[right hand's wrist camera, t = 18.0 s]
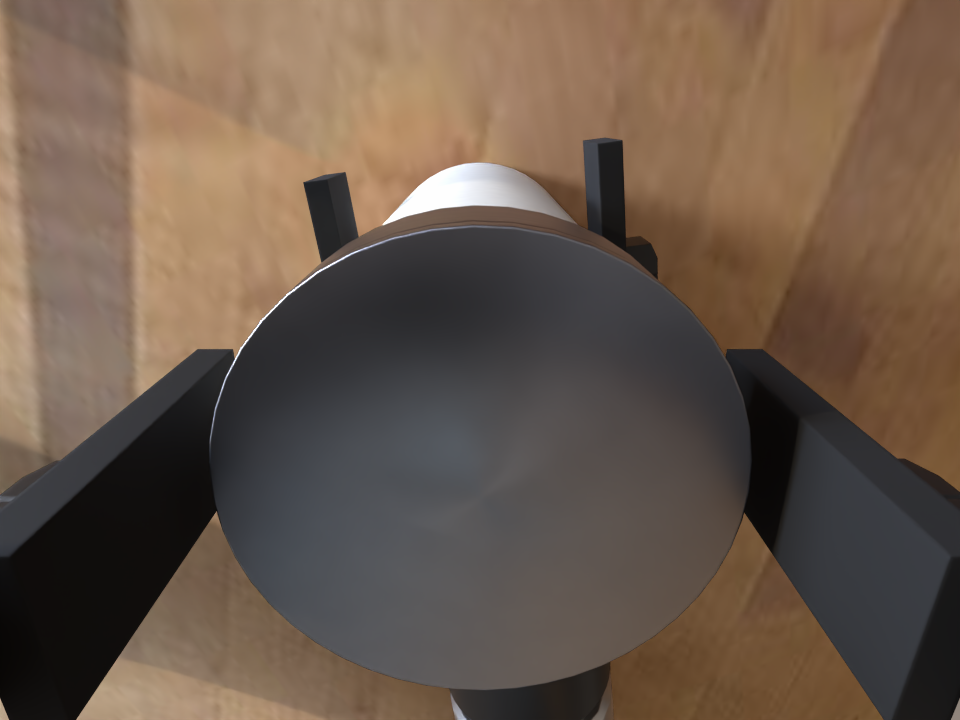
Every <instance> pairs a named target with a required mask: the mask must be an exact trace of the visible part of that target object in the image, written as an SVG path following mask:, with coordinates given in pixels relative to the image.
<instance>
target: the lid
mask: <svg viewBox="0 0 960 720" xmlns="http://www.w3.org/2000/svg"><path fill="white" fill-rule="evenodd" d="M751 466H752V451H751V436H750V426H749V422H748V417H747V413H746V408H745V404H744V399H743V396H742V393H741V391H740V388H739V386H738V383H737V381H736V378H735V376H734V373H733V371H732V368H731V366H730V364H729V363H728V361H727V359H726V358H725V356H724V354H723V352H722V351H721V349H720V347H719V346H718V344H717V342H716V341H715V339H714V337H713V336H712V335H711V334H710V332H709V331H708V330H707V329H706V327H705V326H704V325H703V324H702V323H701V321H700V320H699V319H698V318H697V317H696V315H695V314H694V313H693V312H692V310H691V309H690V308H689V307H687V306H686V305H685V304H684V303H683V302H682V301H681V300H680V299H679V298H677V297H676V296H675V295H674V294H673V293H672V292H671V291H670V290H669V289H667V288H666V287H665V286H664V285H663V284H662V283H661V282H660V281H659V280H657V279H656V278H655V277H654V276H653V275H652V274H651V273H650V272H649V271H647V270H646V269H645V268H644V267H643V266H642V265H641V264H640V263H639V262H637V261H636V260H635V259H634V258H633V257H632V256H631V255H629V254H628V253H626V252H625V251H623V250H622V249H620V248H619V247H617V246H616V245H614V244H613V243H611V242H610V241H608V240H607V239H605V238H604V237H602V236H600V235H598V234H596V233H594V232H592V231H590V230H587V229H585V228H583V227H581V226H579V225H577V224H575V223H572V222H569V221H566V220H563V219H560V218H557V217H554V216H551V215H548V214H544V213H541V212H535V211H530V210H524V209H518V208H513V207H504V206H480V205H471V206H461V207H450V208H440V209H435V210H431V211H427V212H422V213H418V214H414V215H409V216H406V217H403V218H400V219H398V220H395V221H393V222H390V223H387V224H385V225H382V226H379V227H377V228H375V229H373V230H371V231H369V232H367V233H365V234H364V235H362V236H360V237H358V238H356V239H355V240H353V241H351V242H349V243H347V244H346V245H344V246H343V247H342V248H340V249H339V250H338V251H336V252H335V253H334V254H332V255H331V256H330V257H328V258H327V259H326V260H324V261H323V262H322V263H321V264H319V265H318V266H317V267H316V268H315V269H314V270H313V271H312V272H311V273H310V274H308V275H307V276H306V277H305V278H304V279H303V280H302V281H301V282H300V283H298V284H297V285H296V286H295V287H294V288H293V289H292V290H291V291H290V292H288V293H287V294H286V295H285V296H284V297H283V298H282V299H281V300H280V301H279V302H278V303H277V304H276V305H275V306H274V307H273V308H272V309H271V310H270V311H269V312H268V313H267V314H266V315H265V316H264V317H263V318H262V320H261V321H260V322H259V324H258V325H257V326H256V328H255V329H254V330H253V332H252V333H251V335H250V336H249V337H248V339H247V340H246V341H245V343H244V344H243V345H242V347H241V348H240V350H239V352H238V354H237V356H236V358H235V360H234V362H233V364H232V366H231V368H230V370H229V372H228V373H227V375H226V377H225V380H224V383H223V386H222V389H221V392H220V395H219V398H218V401H217V404H216V407H215V411H214V417H213V424H212V430H211V436H210V478H211V485H212V492H213V499H214V504H215V507H216V510H217V513H218V517H219V520H220V523H221V527H222V530H223V532H224V534H225V537H226V539H227V541H228V543H229V545H230V547H231V549H232V552H233V554H234V556H235V558H236V559H237V561H238V562H239V564H240V566H241V567H242V569H243V570H244V572H245V573H246V575H247V576H248V578H249V580H250V581H251V583H252V584H253V585H254V586H255V587H256V588H257V590H258V591H259V592H260V593H261V594H262V596H263V597H264V598H265V599H266V600H267V602H268V603H269V604H270V605H271V606H272V607H273V608H274V609H275V610H276V611H277V612H279V613H280V614H281V615H282V616H283V617H284V618H285V619H286V620H287V621H288V622H289V623H290V624H291V625H293V626H294V627H295V628H297V629H298V630H299V631H301V632H302V633H304V634H305V635H306V636H308V637H309V638H310V639H312V640H313V641H314V642H316V643H318V644H319V645H321V646H323V647H324V648H326V649H328V650H330V651H331V652H333V653H335V654H337V655H338V656H340V657H342V658H344V659H346V660H348V661H351V662H353V663H355V664H357V665H360V666H362V667H364V668H366V669H369V670H372V671H375V672H378V673H381V674H384V675H387V676H390V677H393V678H396V679H400V680H404V681H409V682H413V683H418V684H422V685H427V686H435V687H443V688H451V689H467V690H495V689H510V688H520V687H526V686H532V685H538V684H544V683H549V682H553V681H556V680H560V679H564V678H568V677H572V676H575V675H578V674H581V673H583V672H586V671H589V670H591V669H594V668H597V667H599V666H602V665H604V664H606V663H608V662H610V661H612V660H614V659H616V658H618V657H620V656H622V655H624V654H626V653H628V652H630V651H632V650H633V649H635V648H637V647H638V646H640V645H641V644H643V643H644V642H646V641H648V640H649V639H651V638H652V637H654V636H655V635H656V634H658V633H659V632H660V631H661V630H663V629H664V628H665V627H666V626H668V625H669V624H670V623H671V622H673V621H674V620H675V619H676V618H678V617H679V616H680V615H681V614H682V613H683V612H684V611H685V609H686V608H687V607H688V606H689V605H690V604H691V603H692V602H693V601H694V600H695V599H696V598H697V597H698V596H699V595H700V594H701V592H702V591H703V590H704V588H705V587H706V586H707V584H708V583H709V582H710V581H711V579H712V578H713V577H714V575H715V574H716V573H717V571H718V569H719V567H720V566H721V564H722V562H723V560H724V559H725V557H726V555H727V553H728V552H729V550H730V548H731V546H732V544H733V541H734V539H735V536H736V534H737V531H738V529H739V526H740V524H741V521H742V518H743V514H744V510H745V506H746V502H747V498H748V494H749V488H750V477H751Z"/></svg>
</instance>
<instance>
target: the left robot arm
mask: <svg viewBox="0 0 960 720" xmlns="http://www.w3.org/2000/svg"><path fill="white" fill-rule="evenodd" d="M583 147H584V165H585V182H586V200H587V217H588V230H590V231H592V232H594V233H596V234H598V235H600V236H602V237H604V238H605V239H607V240H608V241H610V242H611V243H613V244H614V245H616V246H617V247H619V248H620V249H622V250H623V251H625V252H626V253H628V254H629V255H631V256H632V257H633V258H634V259H635V260H636V261H637V262H639V263H640V264H641V265H642V266H643V267H644V268H645V269H646V270H647V271H649V272H650V273H651V274H652V275H653V276H654V277H655V278H656V279H657V280H658V276H657V274H658V266H657V256H656V254H655V252H654V249H653V247H652V245H651V243H649V242H648V241H646V240H645V239H644V238H642V237H641V236H638V237H630V238H626V228H625V199H624V170H623V141H622V140H617V139H610V138H600V139H592V140H584V141H583ZM303 183H304V188H305V192H306V196H307V201H308V205H309V210H310V214H311V218H312V223H313V227H314V232H315V236H316V240H317V245H318V249H319V254H320V258H321V263H322V262H323V261H324V260H326V259H327V258H328V257H330V256H331V255H332V254H334V253H335V252H336V251H338V250H339V249H340V248H342V247H343V246H344V245H346V244H347V243H349V242H351V241H353V240H355V239H356V238H358V232H357V227H356V222H355V217H354V212H353V207H352V202H351V197H350V192H349V187H348V182H347V177H346V172H343V173H336V174H328V175H323V176H320V177H317V178H315V179H312V180H309V181H306V182H303ZM449 689H450V696H451V701H452V706H453V711H454V716H455V720H614V714H613V698H612V684H611V675H610V662H608V663H606V664H604V665H602V666H599V667H597V668H594V669H591V670H589V671H586V672H583V673H581V674H578V675H575V676H572V677H568V678H564V679H560V680H556V681H553V682H549V683H544V684H538V685H532V686H526V687H520V688H510V689H495V690H467V689H451V688H449Z"/></svg>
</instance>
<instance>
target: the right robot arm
mask: <svg viewBox="0 0 960 720" xmlns="http://www.w3.org/2000/svg"><path fill="white" fill-rule="evenodd" d="M726 359H727V361H728V363H729V364H730V366H731V368H732V371H733V373H734V376H735V378H736V381H737V383H738V386H739V388H740V391H741V393H742V396H743V399H744V404H745V408H746V413H747V417H748V422H749V426H750V436H751V451H752V466H751V477H750V488H749V494H748V498H747V502H746V506H745V510H744V513H745V514H746V516H747V517H748V519H749V520H750V522H751V523H752V524H753V526H754V527H755V529H756V530H757V532H758V533H759V535H760V536H761V538H762V539H763V541H764V542H765V544H766V545H767V547H768V548H769V550H770V551H771V553H772V554H773V556H774V557H775V559H776V560H777V562H778V563H779V565H780V566H781V568H782V569H783V571H784V572H785V573H786V575H787V576H788V578H789V579H790V581H791V582H792V584H793V585H794V587H795V588H796V590H797V591H798V593H799V594H800V596H801V597H802V599H803V600H804V602H805V603H806V605H807V606H808V608H809V609H810V611H811V612H812V614H813V615H814V617H815V618H816V620H817V621H818V622H819V624H820V625H821V627H822V628H823V630H824V631H825V633H826V634H827V636H828V637H829V639H830V640H831V642H832V643H833V645H834V646H835V648H836V649H837V651H838V652H839V654H840V655H841V657H842V658H843V660H844V661H845V663H846V664H847V666H848V667H849V669H850V670H851V671H852V673H853V674H854V676H855V677H856V679H857V680H858V682H859V683H860V685H861V686H862V688H863V689H864V691H865V692H866V694H867V695H868V697H869V698H870V700H871V701H872V703H873V704H874V706H875V707H876V709H877V710H878V712H879V713H880V715H881V716H882V717H883V719H884V720H951V718H952V716H953V713H954V711H955V708H956V706H957V703H958V701H959V699H960V492H959V491H958V490H956V489H955V488H954V487H953V486H951V485H950V484H949V483H947V482H946V481H945V480H944V479H942V478H941V477H940V476H938V475H936V474H934V473H932V472H930V471H928V470H926V469H924V468H922V467H920V466H918V465H916V464H914V463H912V462H910V461H908V460H906V459H897V458H896V457H894V456H893V455H892V454H891V453H889V452H888V451H887V450H886V449H885V448H883V447H882V446H881V445H880V444H878V443H877V442H876V441H875V440H873V439H872V438H871V437H870V436H869V435H867V434H866V433H865V432H864V431H862V430H861V429H860V428H859V427H857V426H856V425H855V424H854V423H853V422H851V421H850V420H849V419H848V418H846V417H845V416H844V415H843V414H841V413H840V412H839V411H838V410H837V409H835V408H834V407H833V406H832V405H830V404H829V403H828V402H827V401H825V400H824V399H823V398H822V397H821V396H819V395H818V394H817V393H816V392H814V391H813V390H812V389H811V388H809V387H808V386H807V385H806V384H805V383H803V382H802V381H801V380H800V379H798V378H797V377H796V376H795V375H793V374H792V373H791V372H790V371H789V370H787V369H786V368H785V367H784V366H782V365H781V364H780V363H779V362H777V361H776V360H775V359H774V358H773V357H771V356H770V355H769V354H768V353H766V352H765V351H764V350H763V349H727V352H726ZM234 360H235V359H234V352H233V349H197V350H196V351H195V352H194V353H192V354H191V355H190V356H189V357H187V358H186V359H185V360H184V361H183V362H181V363H180V364H179V365H178V366H176V367H175V368H174V369H173V370H171V371H170V372H169V373H168V374H167V375H165V376H164V377H163V378H162V379H160V380H159V381H158V382H157V383H155V384H154V385H153V386H152V387H151V388H149V389H148V390H147V391H146V392H144V393H143V394H142V395H141V396H139V397H138V398H137V399H136V400H135V401H133V402H132V403H131V404H130V405H128V406H127V407H126V408H125V409H123V410H122V411H121V412H120V413H119V414H117V415H116V416H115V417H114V418H112V419H111V420H110V421H109V422H107V423H106V424H105V425H104V426H103V427H101V428H100V429H99V430H98V431H96V432H95V433H94V434H93V435H91V436H90V437H89V438H88V439H87V440H85V441H84V442H83V443H82V444H80V445H79V446H78V447H77V448H75V449H74V450H73V451H72V452H71V453H69V454H68V455H67V456H66V457H64V458H63V459H62V460H61V461H55V462H53V463H51V464H49V465H47V466H45V467H43V468H41V469H39V470H37V471H35V472H33V473H31V474H29V475H27V476H25V477H23V478H21V479H20V480H19V481H17V482H16V483H15V484H14V485H12V486H11V487H10V488H8V489H7V490H6V491H5V492H3V493H2V494H1V495H0V699H1V701H2V703H3V706H4V708H5V711H6V713H7V716H8V718H9V720H76V719H77V717H78V716H79V715H80V713H81V712H82V710H83V709H84V707H85V706H86V704H87V703H88V701H89V700H90V698H91V697H92V695H93V694H94V692H95V691H96V689H97V688H98V686H99V685H100V683H101V682H102V680H103V679H104V677H105V676H106V674H107V673H108V671H109V670H110V669H111V667H112V666H113V664H114V663H115V661H116V660H117V658H118V657H119V655H120V654H121V652H122V651H123V649H124V648H125V646H126V645H127V643H128V642H129V640H130V639H131V637H132V636H133V634H134V633H135V631H136V630H137V628H138V627H139V625H140V624H141V622H142V621H143V620H144V618H145V617H146V615H147V614H148V612H149V611H150V609H151V608H152V606H153V605H154V603H155V602H156V600H157V599H158V597H159V596H160V594H161V593H162V591H163V590H164V588H165V587H166V585H167V584H168V582H169V581H170V579H171V578H172V576H173V575H174V573H175V572H176V571H177V569H178V568H179V566H180V565H181V563H182V562H183V560H184V559H185V557H186V556H187V554H188V553H189V551H190V550H191V548H192V547H193V545H194V544H195V542H196V541H197V539H198V538H199V536H200V535H201V533H202V532H203V530H204V529H205V527H206V526H207V524H208V523H209V522H210V520H211V519H212V517H213V516H214V514H215V513H216V511H217V510H216V507H215V504H214V499H213V492H212V485H211V478H210V436H211V430H212V424H213V417H214V411H215V407H216V404H217V401H218V398H219V395H220V392H221V389H222V386H223V383H224V380H225V377H226V375H227V373H228V372H229V370H230V368H231V366H232V364H233V362H234Z"/></svg>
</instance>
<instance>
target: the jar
mask: <svg viewBox="0 0 960 720" xmlns="http://www.w3.org/2000/svg"><path fill="white" fill-rule="evenodd" d="M471 205H480V206H504V207H513V208H518V209H524V210H530V211H535V212H541V213H544V214H548V215H551V216H554V217H557V218H560V219H563V220H566V221H569V222H572V223H575V224H577V223H576V222H575V221H574V220H573V219H572V218H571V217H570V216H569V215H568V214H567V213H566V212H565V210H564V209H563V208H562V207H561V206H560V205H559V204H558V203H557V202H556V201H555V200H554V199H553V198H552V197H551V195H550V194H549V193H548V192H547V191H546V190H545V189H544V188H543V187H542V186H540V185H539V184H538V183H537V182H536V181H534V180H533V179H531V178H530V177H528V176H527V175H525V174H523V173H521V172H519V171H517V170H515V169H512V168H509V167H506V166H502V165H497V164H491V163H470V164H462V165H458V166H454V167H451V168H448V169H446V170H443V171H441V172H439V173H437V174H435V175H434V176H432V177H430V178H429V179H427V180H426V181H425V182H423V183H422V184H421V185H420V186H419V187H418V188H417V189H416V190H415V191H414V192H413V193H412V194H411V195H410V196H409V197H408V198H407V199H406V200H405V201H404V202H403V203H402V204H401V205H400V207H399V208H398V209H397V210H396V211H395V212H394V213H393V214H392V215H391V216H390V217H389V218H388V220H387V221H386V222H385V223H384V224H383V225H385V224H387V223H390V222H393V221H395V220H398V219H400V218H403V217H406V216H409V215H414V214H418V213H422V212H427V211H431V210H435V209H440V208H450V207H461V206H471ZM577 225H578V224H577Z"/></svg>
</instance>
